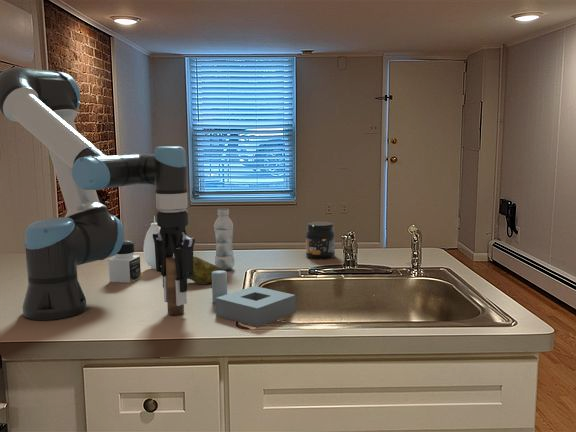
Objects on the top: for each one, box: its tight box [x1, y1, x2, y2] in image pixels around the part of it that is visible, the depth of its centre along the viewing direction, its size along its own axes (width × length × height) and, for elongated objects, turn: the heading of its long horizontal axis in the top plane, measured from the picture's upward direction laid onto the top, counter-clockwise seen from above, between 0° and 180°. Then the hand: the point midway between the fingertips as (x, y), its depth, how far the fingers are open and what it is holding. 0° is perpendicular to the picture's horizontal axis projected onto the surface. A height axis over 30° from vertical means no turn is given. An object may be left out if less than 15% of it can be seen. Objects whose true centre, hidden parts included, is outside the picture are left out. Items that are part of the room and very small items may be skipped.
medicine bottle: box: [107, 240, 142, 284], centre depth 179 cm, size 7×7×12 cm
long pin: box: [166, 255, 185, 316], centre depth 145 cm, size 4×4×14 cm
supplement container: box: [305, 221, 336, 260], centre depth 209 cm, size 10×10×12 cm
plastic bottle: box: [213, 208, 235, 271], centre depth 190 cm, size 6×7×20 cm
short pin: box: [211, 270, 228, 304], centre depth 156 cm, size 4×4×8 cm
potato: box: [187, 255, 223, 285], centre depth 175 cm, size 8×13×8 cm, turn 74°
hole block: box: [215, 285, 297, 328], centre depth 145 cm, size 14×14×4 cm
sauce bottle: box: [142, 215, 161, 271], centre depth 193 cm, size 8×8×18 cm
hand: (175, 302), depth 146 cm, fingers closed on long pin, 4 cm apart
